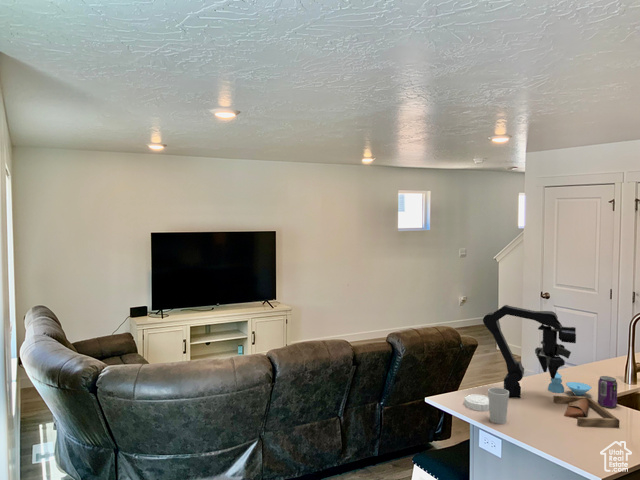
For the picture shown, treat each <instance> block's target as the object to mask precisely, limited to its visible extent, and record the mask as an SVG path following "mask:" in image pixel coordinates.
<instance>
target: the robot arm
mask: <svg viewBox="0 0 640 480" xmlns="http://www.w3.org/2000/svg"><path fill="white" fill-rule="evenodd" d="M505 316H512V317H517V318H522V319H526V320H532V321H534V322H535V321H536V322H537V323H539V324H541V325H539V326H538V328H537V330H540V331H542V340H541V341H540V344H541V345H542V347H536V348H535V349H534V354H535V356H536V358H537V360H538V362H539V364H540V367H541V369H542V370H543V373H547V371H548V372H549V376H550V379H551V378H552V379H554V378H555V375H556V373H557V372H558V369H559V368H560V367H561V368H562V367H564V366H565V362H566V361H565V359H563V358H562V357H564V358H566V359H569V358H570V356H571V353H572V351H570V350H569V349H567V348H565V347H566V346H565V345H563V344H560V343H558V340H559V341H561V343H567V344H568V343H569V344H576V343H577V333H576V330H577V328H576V326H575V327H574V326H563V325H562V323H561V322H560V321H559V319H558V314H557V313H556V312H554V311H552V310H551V311H549V310H530V309H528V308H527V309H526V308H521V307H517V306H516V307H515V306H511V305H508V304H504V305H503V306H502V307H500V308H499V309H497V310H495V311H494V312H487V314H485V315H484V317H483V318H482V322H483V324H484V326H485V327H486V329H487V330H488V331H489V332H490V333H491V335H492V336H493V338H494V340H495V343H496V344H497V347H498V349H499V351H500V353H501V356H502V357H503V359H504V361H505V365H506V371H507V374H506V375H505V376H504V378H503V389H506V390H508V391H509V399H510V398H511V399H512V398H513V399H514V398H515V399H521V398H522V397H521V396H522V394H521V393H522V386H521V385H520V384H521V383H520V381H522V379H523V377H524V375H525V368H524V366H523V364H522V361H521V360H517V359H515V357H514V355H513V352H512V350H511V348H510V345H509V344H508V342H507V340H506V338H505V336H504V334H503V332H502V330H501V329H502V327H501V323H500V319H502V318H503V317H505Z"/></svg>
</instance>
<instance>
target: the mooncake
mask: <svg viewBox="0 0 640 480" xmlns="http://www.w3.org/2000/svg"><path fill="white" fill-rule="evenodd" d="M463 403H464V404H463V405H464V406H465V408H467V409H469V410H474V411H477V412H489V397H488V395H484V394H474V393H472V394H469V395H465V397H464V398H463Z"/></svg>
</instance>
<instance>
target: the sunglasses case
mask: <svg viewBox="0 0 640 480" xmlns="http://www.w3.org/2000/svg"><path fill="white" fill-rule="evenodd" d="M566 407H567V408H566V410H565V412H564V414H563V416H564V417H567V418H572V419H577V417H586V418H588V414H589V413H588V412H589V408H590V407H589V402H588V400H587V399H580V400H578V401H575V402H570V403H568V404H567V406H566Z"/></svg>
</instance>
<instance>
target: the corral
mask: <svg viewBox="0 0 640 480" xmlns="http://www.w3.org/2000/svg"><path fill="white" fill-rule="evenodd" d="M552 398H553V400H552V403H553V404H556V405H558V404H559V405H560V404H561V405H563V404H564V405H568V403H570V402H575V401H578V400H580V399H587V400H588V402H589V408H590V409H592V411H594V412H595V413H596V414H598V415H599V416H600V417H587V418H586V417H577V420H576V425H577V426H578V427H585V428H586V427H589V428H609V429H610V428H611V429H620V420H619V418H617V417H616V416H615V415H613V414H612V413H611V412H609V411H608V410H607V409H606V408H605V407H604V406H602V405H600V404H599V403H598V402H596V400H594V399H592V398H591V397H590V396H577V395H575V396H574V395H573V396H571V395H553V397H552Z"/></svg>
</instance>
